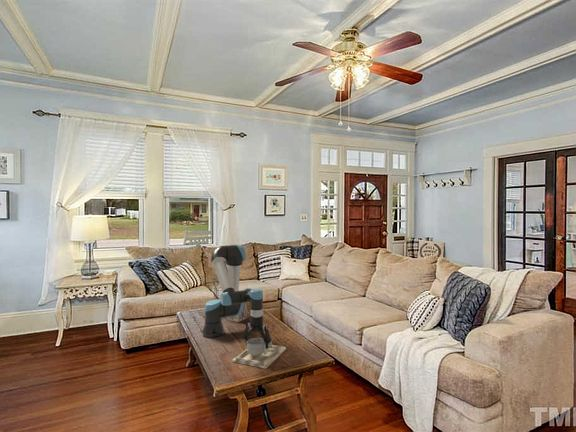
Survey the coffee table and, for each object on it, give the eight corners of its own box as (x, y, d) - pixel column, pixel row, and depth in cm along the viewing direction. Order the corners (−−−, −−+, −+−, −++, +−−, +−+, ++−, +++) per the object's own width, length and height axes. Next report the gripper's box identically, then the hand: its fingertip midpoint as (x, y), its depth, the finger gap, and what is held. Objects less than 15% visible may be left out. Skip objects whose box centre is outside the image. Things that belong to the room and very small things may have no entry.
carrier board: (232, 361, 193) (232, 353, 193) (255, 343, 218) (255, 335, 218) (265, 368, 184) (265, 359, 184) (286, 349, 210) (286, 340, 209)
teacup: (250, 359, 189) (250, 345, 189) (244, 352, 199) (244, 339, 198) (272, 354, 195) (272, 341, 195) (265, 347, 205) (265, 334, 205)
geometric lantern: (211, 313, 285) (211, 272, 285) (229, 311, 291) (229, 271, 291) (214, 318, 271) (214, 275, 271) (233, 316, 277) (233, 274, 277)
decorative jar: (247, 318, 269) (247, 296, 269) (238, 322, 259) (237, 300, 259) (236, 316, 276) (236, 294, 275) (226, 320, 266) (226, 298, 265)
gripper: (236, 315, 198) (237, 351, 199) (271, 320, 189) (271, 358, 189) (243, 311, 205) (243, 346, 206) (276, 316, 196) (277, 352, 196)
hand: (257, 352), depth 197 cm, fingers closed on teacup, 11 cm apart
